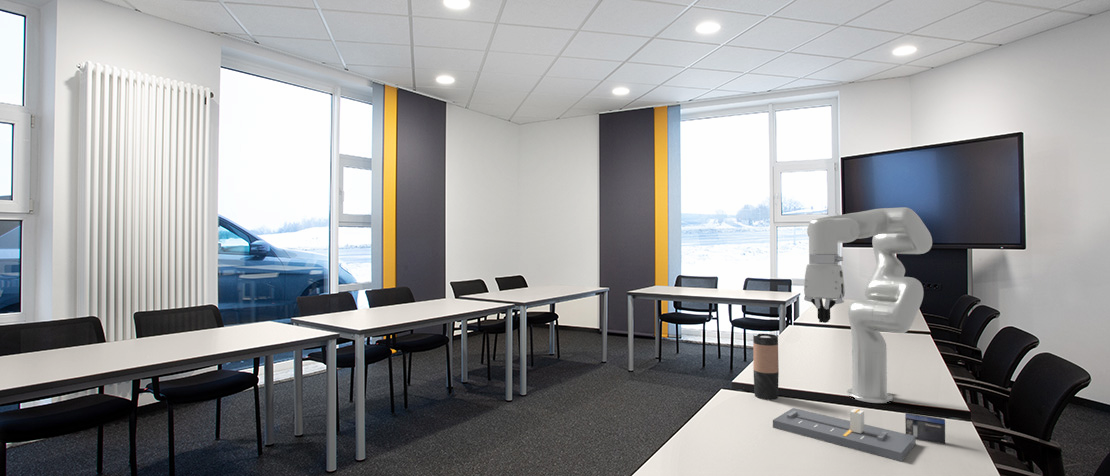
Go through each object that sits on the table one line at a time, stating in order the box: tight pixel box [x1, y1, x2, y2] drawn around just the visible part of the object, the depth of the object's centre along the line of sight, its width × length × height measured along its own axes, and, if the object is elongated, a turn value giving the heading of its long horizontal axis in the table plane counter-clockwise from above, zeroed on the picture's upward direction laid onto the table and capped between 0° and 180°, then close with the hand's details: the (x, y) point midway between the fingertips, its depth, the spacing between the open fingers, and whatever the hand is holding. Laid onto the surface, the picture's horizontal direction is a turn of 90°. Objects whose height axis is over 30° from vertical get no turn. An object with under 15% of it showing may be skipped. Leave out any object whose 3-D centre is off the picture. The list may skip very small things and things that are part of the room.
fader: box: [849, 408, 865, 433], centre depth 131 cm, size 3×2×5 cm
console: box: [772, 407, 917, 462], centre depth 134 cm, size 14×30×3 cm, turn 43°
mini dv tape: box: [904, 412, 946, 445], centre depth 130 cm, size 8×2×6 cm, turn 55°
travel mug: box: [752, 333, 780, 401], centre depth 167 cm, size 8×8×20 cm
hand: (824, 321), depth 151 cm, fingers closed
